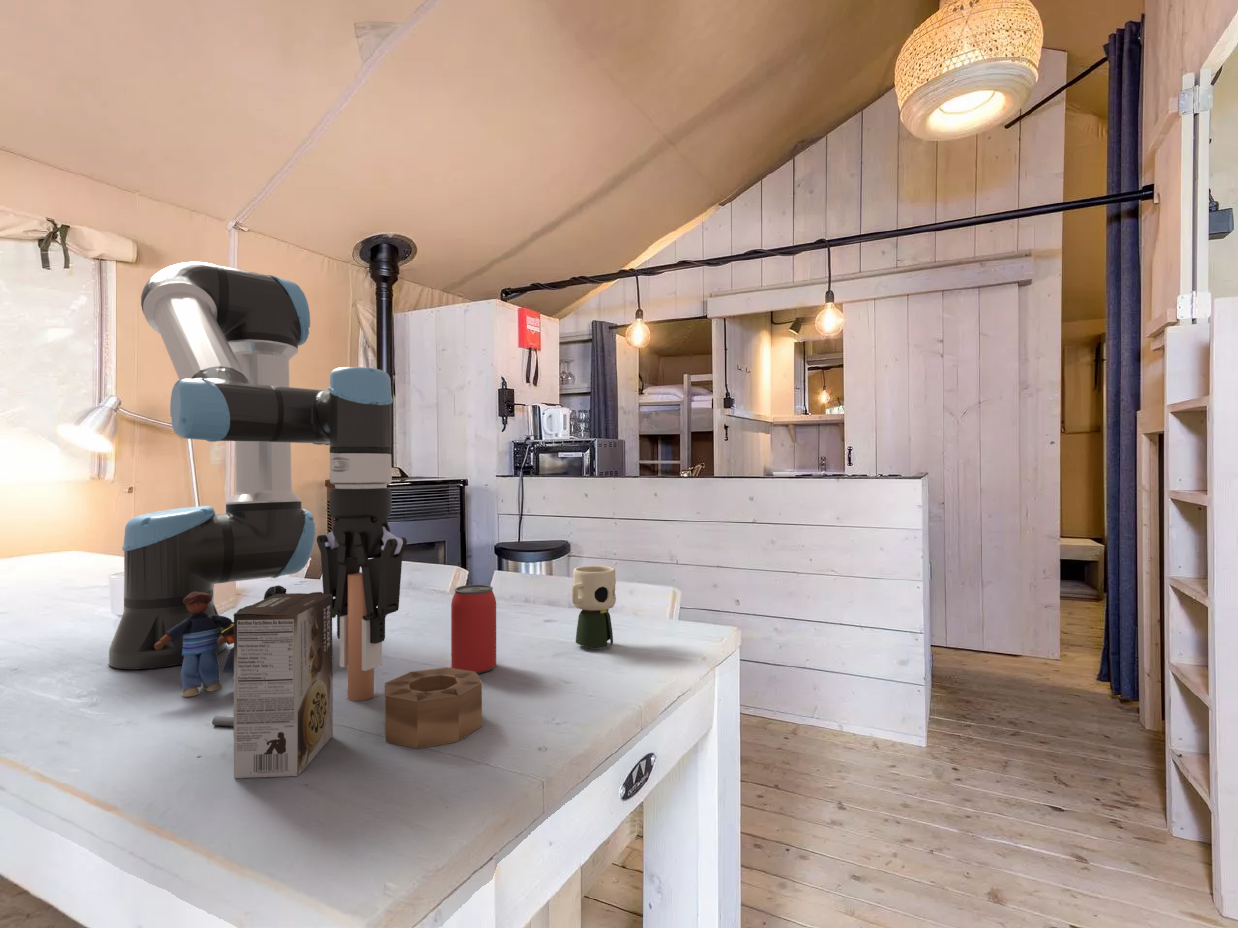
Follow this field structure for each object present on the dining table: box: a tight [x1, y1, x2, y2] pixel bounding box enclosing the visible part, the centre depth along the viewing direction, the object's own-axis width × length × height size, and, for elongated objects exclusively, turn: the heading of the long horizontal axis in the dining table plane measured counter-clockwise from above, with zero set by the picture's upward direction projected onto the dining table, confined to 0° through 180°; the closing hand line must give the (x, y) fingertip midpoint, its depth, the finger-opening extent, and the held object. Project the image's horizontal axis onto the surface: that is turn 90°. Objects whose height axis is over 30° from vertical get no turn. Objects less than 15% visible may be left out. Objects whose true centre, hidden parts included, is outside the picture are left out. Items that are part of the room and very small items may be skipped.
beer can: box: [450, 584, 497, 675], centre depth 92 cm, size 7×7×12 cm
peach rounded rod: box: [347, 571, 375, 702], centre depth 81 cm, size 3×3×16 cm
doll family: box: [154, 584, 337, 698], centre depth 88 cm, size 23×9×13 cm, turn 159°
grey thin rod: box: [211, 715, 234, 727], centre depth 71 cm, size 10×1×1 cm, turn 83°
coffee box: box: [233, 592, 334, 779], centre depth 64 cm, size 9×6×16 cm
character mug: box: [571, 565, 617, 649], centre depth 103 cm, size 11×7×13 cm, turn 143°
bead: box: [384, 667, 483, 749], centre depth 71 cm, size 10×10×5 cm
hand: (360, 665), depth 81 cm, fingers closed on peach rounded rod, 3 cm apart
